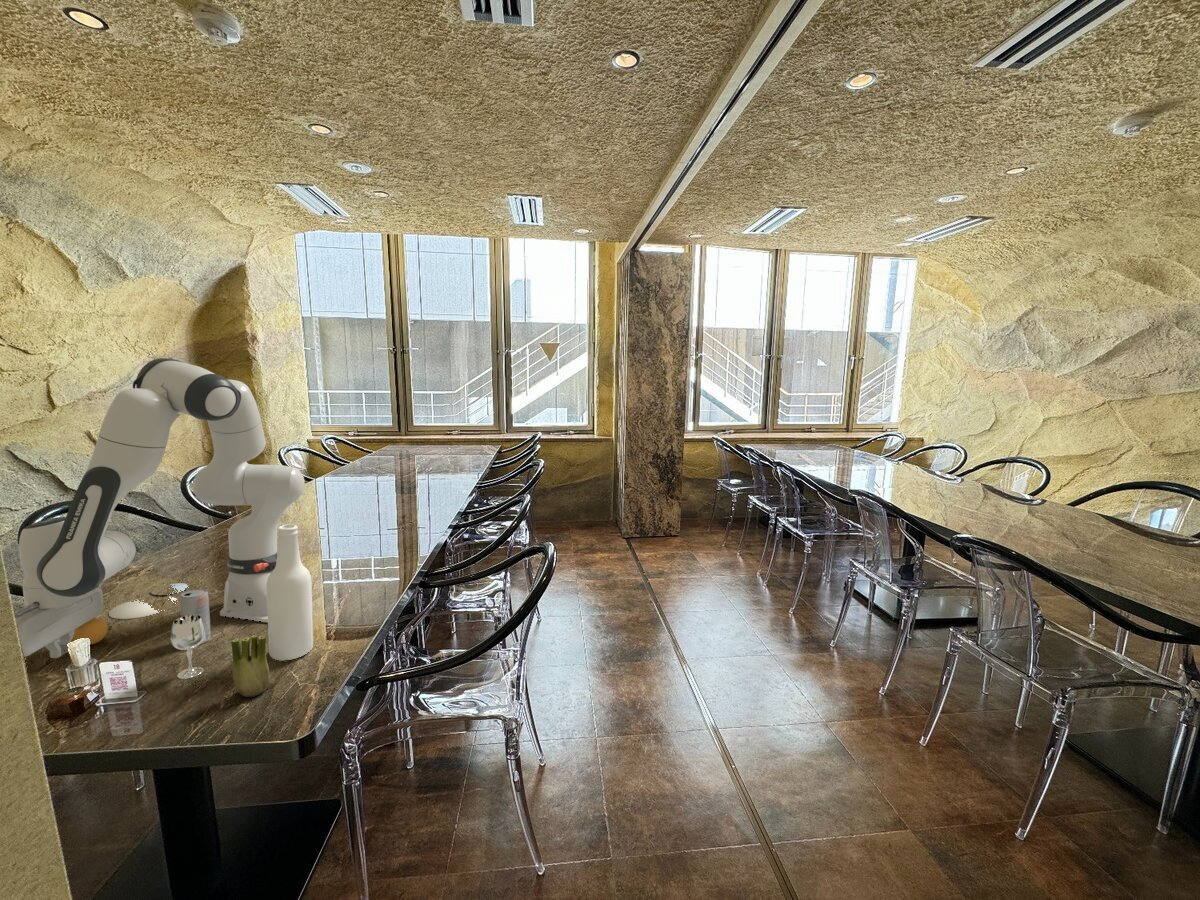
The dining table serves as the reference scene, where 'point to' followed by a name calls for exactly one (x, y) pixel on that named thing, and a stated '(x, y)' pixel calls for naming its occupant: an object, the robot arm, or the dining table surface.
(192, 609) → the energy drink
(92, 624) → the ball
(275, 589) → the white bottle
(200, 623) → the wineglass
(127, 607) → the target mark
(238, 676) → the fennel bulb
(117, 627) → the dining table surface
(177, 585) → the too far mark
